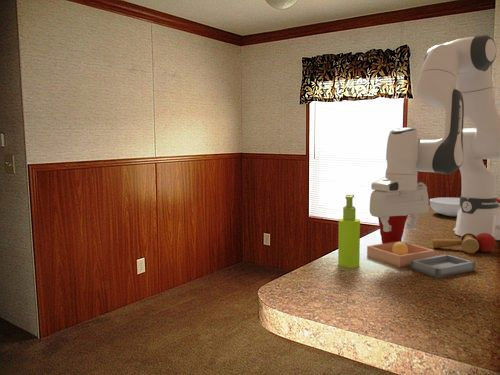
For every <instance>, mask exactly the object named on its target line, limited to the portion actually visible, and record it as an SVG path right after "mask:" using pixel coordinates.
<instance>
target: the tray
mask: <svg viewBox="0 0 500 375" xmlns="http://www.w3.org/2000/svg"><path fill="white" fill-rule="evenodd" d="M475 267H476V261H472V260H469V259H466V258H462V257H458V256H455V255H451V254H447V253H445V254H441V255H436V256H435V255H434V257H429V258H424V259H418V260H413V261H411V266H410V270H411V271H416V272H419V273H422V274H424V275H428V276H430V277H433V278H436V279H440V278H445V277H449V276H453V275H459V274H464V273H469V272H473V271H475V270H476V268H475Z"/></svg>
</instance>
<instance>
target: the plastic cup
mask: <svg viewBox="0 0 500 375" xmlns="http://www.w3.org/2000/svg"><path fill="white" fill-rule="evenodd" d="M408 218H409V215H400V216H389V220H387V221H388V223H389V225H390V226H391V231H390V232H385V231H383V224H382V222H381V220H380V217H377V220H378V225H379V233H380V237H381V244H384V243H390V242H397V241H402V239H403V236H404V231H405V227H406V222H407V220H408Z"/></svg>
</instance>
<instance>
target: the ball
mask: <svg viewBox="0 0 500 375" xmlns="http://www.w3.org/2000/svg"><path fill="white" fill-rule="evenodd" d="M402 242H403V241H402ZM402 242H397V243H395V244H394V245H393V248H392V251H393V253H394V254H397V255H406V254H407V252H408V247H407V245H406V244H404V243H402Z"/></svg>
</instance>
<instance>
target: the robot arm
mask: <svg viewBox="0 0 500 375" xmlns="http://www.w3.org/2000/svg"><path fill="white" fill-rule="evenodd" d="M496 57H497V45H496V42H495V40H494V39H493V38H492V37H491V36H490V35H488V34H478V35H475V36H468V37H462V38H457V39H455V40H451V41H448V42H445V43H441V44H436V45H434V46H432V47H431V48H429V49H428V50H427V52H426V54H425V55H424V59H423V64H422V67H421V69H420V72H419V76H418V79H417V83H416V93H417V96H418V97H419V99H420V100H421V101H422V102H423V103H424V104H426V105H427V106H429V107H432V108H434V109H437V110H440V111H443V112H444V113H445V118H444V119H445V120H444V121H445V122H444V134H443V136H442V137H440V138H439V139H422V138H420V137H419V136H418V130H417V129H416V128H415V127H401V128H399V127H398V128H395V129H392V130H391V131H389V134H388V136H387V142H386V150H385V151H386V153H385V161H386V164H387V165H386V170H385V176H384V177H382V178H380V179H377V180H376V181H373V182H372V183H371V185H370V186H371V187H370V188H371V190H373V191H372V192H371V193H370V197H369V213H370V215H371V216H372V217H375V218H378V217H380V220H381V222H382V224H383V231H385V232H390V231H391V226H390V225H389V223H388V221H387V220H389V216H400V215H408V216H409V217H410V219H409V221H408V222H407V223H406V225H407V227H406V228H407V229H409V230H414V229H416V223H417V222H418V219H419V217H420V216H419V215H420V214H427V213H428V211H429V209H430V199H429V193H428V186H427V185H426V184H425V183H424V182H418V172H422V173H423V172H424V173H426V172H427V173H435V174H443V175H451V174H453V173H455V172H456V171H457V170H459V172H460V178H461V182H460V183H461V195H460V196H459V198H460V200H459V202H460V206H461V207H460V209H459V210H458V214H457V217H456V221H455V227H454V228H453V230H452V231H454V234H455V235H457V236H459V237H462V235H463V234H465V233H472V234H474V235H475V236H477V235H478V234H481V233H488V234H490V235H492V236H493V237H494V239H495V241H500V208H499V207H500V206H499V204H500V197H497V176H496V174H495V173H494V172H493V171H492V170H490V169H488V168H487V167H486V166H485V164H484V161H483V160H484V159H485V160H486V159H487V160H500V113H499V112H498V109H497V106H496V100H495V99H496V98H495V93H494V84H493V77H492V73H491V68H490V67H491V66H492V65H493V64H494V61H495V59H496ZM464 118H465V119H467V120H469V121H470V122H471V123H472V125H473V126H474V127H470V128H469V127H467V128H464Z"/></svg>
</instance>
